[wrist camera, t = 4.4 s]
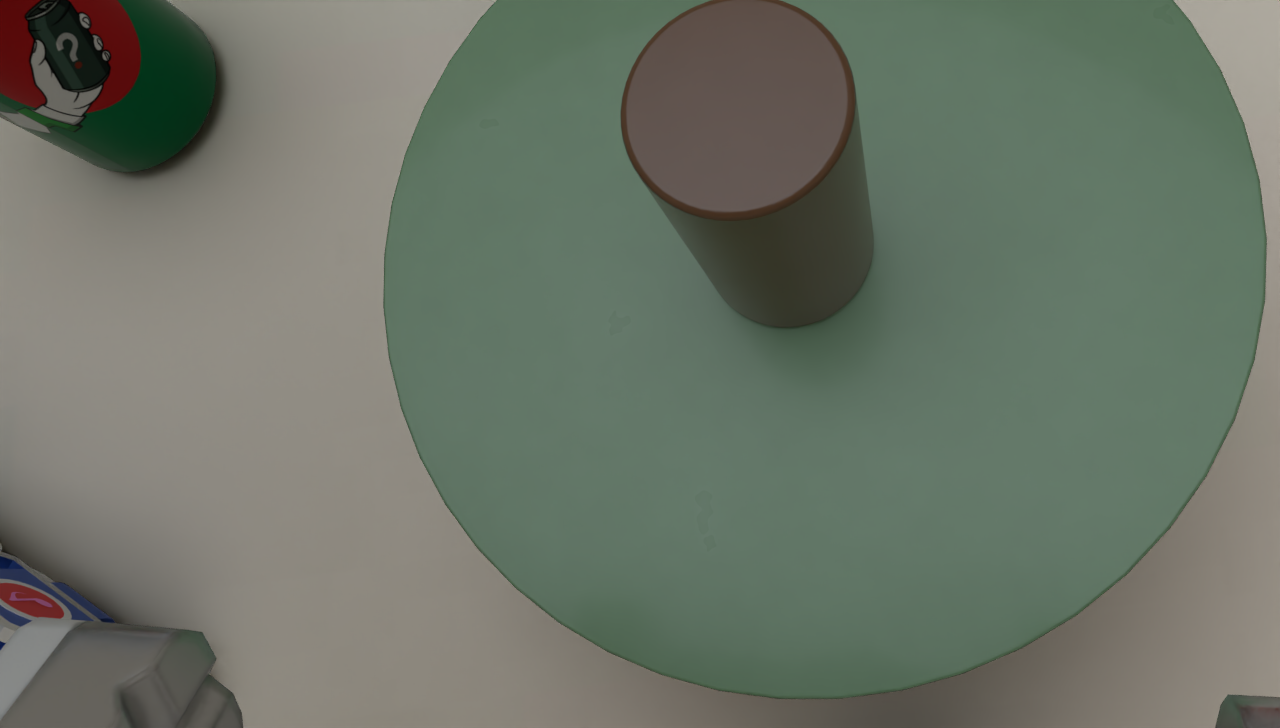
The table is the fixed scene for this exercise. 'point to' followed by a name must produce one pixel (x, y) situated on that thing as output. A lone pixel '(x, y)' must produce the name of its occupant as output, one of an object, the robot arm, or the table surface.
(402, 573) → the table surface
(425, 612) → the table surface
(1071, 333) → the lid
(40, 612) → the toy train
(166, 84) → the soda can
